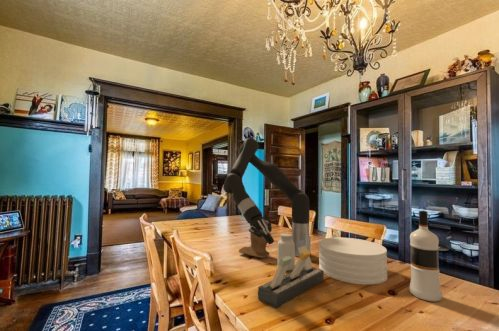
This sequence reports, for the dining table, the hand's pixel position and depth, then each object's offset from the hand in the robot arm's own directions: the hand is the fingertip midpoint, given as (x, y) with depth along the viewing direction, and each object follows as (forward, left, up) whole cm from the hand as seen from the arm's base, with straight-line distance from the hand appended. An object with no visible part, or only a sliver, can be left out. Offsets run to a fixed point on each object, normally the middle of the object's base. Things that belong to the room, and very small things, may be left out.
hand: (271, 243), depth 99 cm
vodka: (-36, +42, -14) cm, 57 cm away
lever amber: (0, +13, -9) cm, 16 cm away
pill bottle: (-12, -4, -14) cm, 19 cm away
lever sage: (+11, +15, -9) cm, 21 cm away
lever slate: (-11, +11, -9) cm, 18 cm away
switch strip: (0, +13, -14) cm, 19 cm away
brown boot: (-11, -26, -14) cm, 32 cm away
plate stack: (-35, +14, -14) cm, 40 cm away
